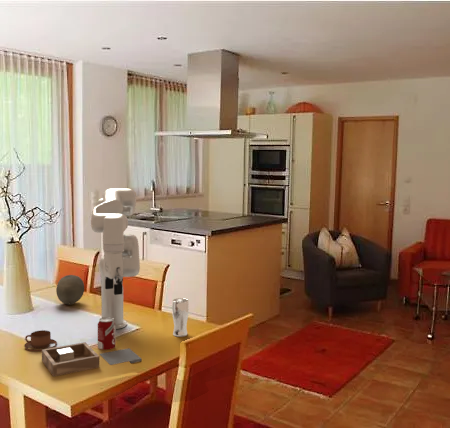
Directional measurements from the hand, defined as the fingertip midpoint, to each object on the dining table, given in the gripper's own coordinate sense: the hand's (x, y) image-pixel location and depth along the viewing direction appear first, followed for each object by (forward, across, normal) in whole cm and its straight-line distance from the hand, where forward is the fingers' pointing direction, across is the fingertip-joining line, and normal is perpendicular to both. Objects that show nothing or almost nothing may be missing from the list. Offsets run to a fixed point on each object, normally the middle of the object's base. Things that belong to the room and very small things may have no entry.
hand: (113, 291), depth 201 cm
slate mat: (+23, +11, -2) cm, 26 cm away
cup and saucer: (+23, -14, -24) cm, 37 cm away
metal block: (+22, +6, -21) cm, 31 cm away
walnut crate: (+23, +9, -20) cm, 32 cm away
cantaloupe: (+23, -68, +2) cm, 72 cm away
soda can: (+23, -1, -3) cm, 23 cm away
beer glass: (+23, -2, +30) cm, 38 cm away
